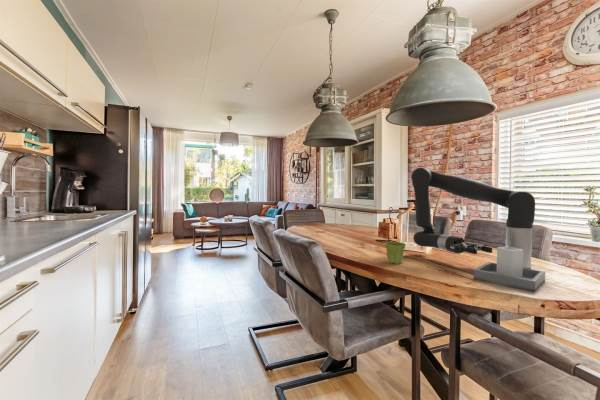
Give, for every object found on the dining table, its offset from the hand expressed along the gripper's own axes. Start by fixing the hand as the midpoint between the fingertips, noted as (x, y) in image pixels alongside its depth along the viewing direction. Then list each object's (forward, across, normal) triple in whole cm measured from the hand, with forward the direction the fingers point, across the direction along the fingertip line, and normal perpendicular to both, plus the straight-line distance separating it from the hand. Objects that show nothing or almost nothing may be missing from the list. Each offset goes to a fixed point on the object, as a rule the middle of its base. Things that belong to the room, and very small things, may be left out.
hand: (484, 250), depth 115 cm
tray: (+10, 0, +9) cm, 13 cm away
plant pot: (-24, -25, +9) cm, 36 cm away
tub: (+10, 0, +8) cm, 13 cm away
